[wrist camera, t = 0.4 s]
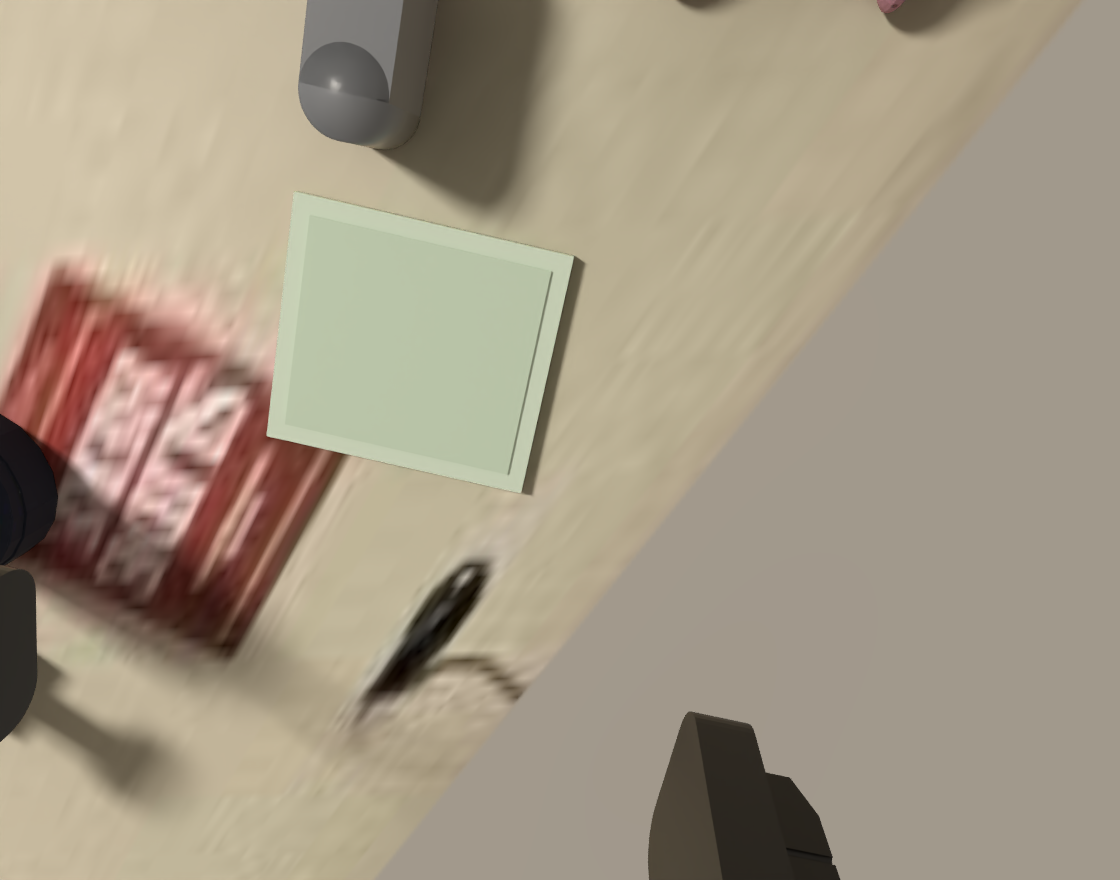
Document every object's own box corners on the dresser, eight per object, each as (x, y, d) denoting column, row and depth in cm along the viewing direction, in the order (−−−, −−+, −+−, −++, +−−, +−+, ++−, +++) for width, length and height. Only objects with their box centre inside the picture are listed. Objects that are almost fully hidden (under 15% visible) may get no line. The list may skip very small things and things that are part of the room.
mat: (298, 191, 33) (293, 191, 32) (574, 255, 33) (574, 256, 33) (270, 432, 36) (265, 436, 36) (521, 489, 36) (520, 494, 36)
